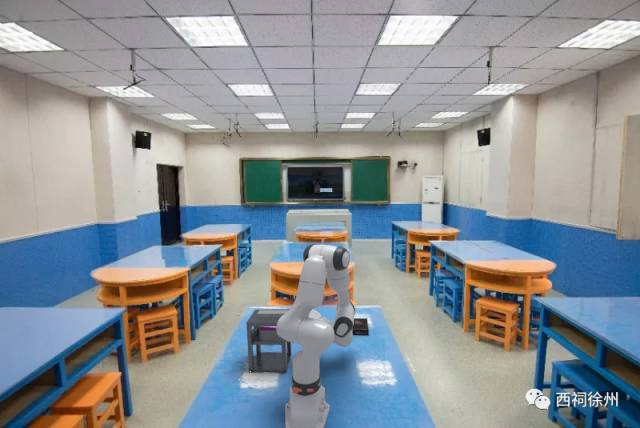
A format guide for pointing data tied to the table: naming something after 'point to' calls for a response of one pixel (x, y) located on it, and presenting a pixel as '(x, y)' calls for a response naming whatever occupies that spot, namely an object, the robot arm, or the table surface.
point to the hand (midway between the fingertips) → (298, 313)
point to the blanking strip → (271, 313)
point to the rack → (266, 360)
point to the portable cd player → (360, 327)
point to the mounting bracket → (268, 329)
